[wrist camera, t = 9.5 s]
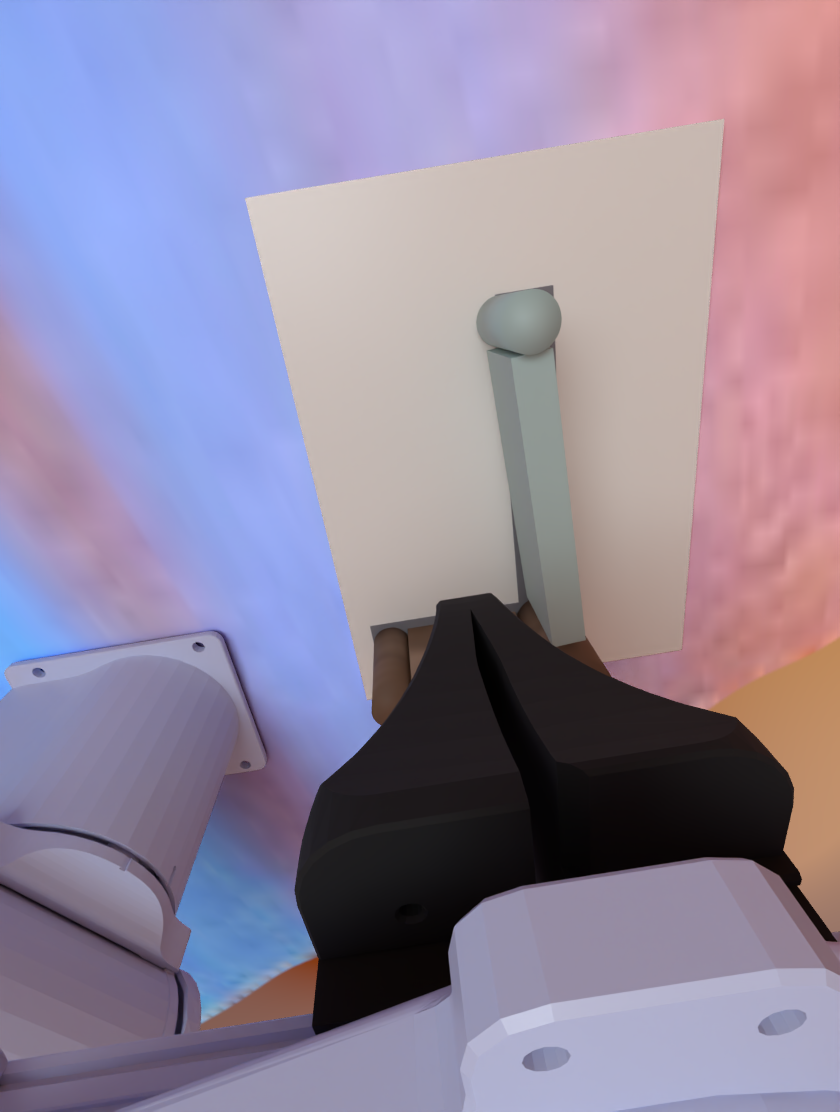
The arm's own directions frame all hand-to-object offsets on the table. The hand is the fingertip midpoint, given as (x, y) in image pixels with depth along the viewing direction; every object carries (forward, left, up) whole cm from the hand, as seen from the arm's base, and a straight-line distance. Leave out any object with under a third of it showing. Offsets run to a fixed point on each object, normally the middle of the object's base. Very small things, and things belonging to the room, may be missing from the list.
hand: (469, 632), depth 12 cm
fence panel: (+3, +1, -9) cm, 9 cm away
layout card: (+3, +1, -9) cm, 10 cm away
